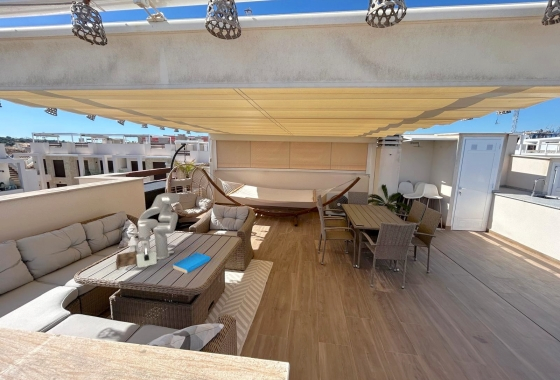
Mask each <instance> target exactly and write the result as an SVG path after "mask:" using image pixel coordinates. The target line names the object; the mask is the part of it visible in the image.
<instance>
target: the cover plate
mask: <svg viewBox="0 0 560 380" xmlns="http://www.w3.org/2000/svg"><path fill="white" fill-rule="evenodd" d="M142 253H143V252H142ZM147 254H148V255H149V260H148V261H144V253H143V254H137V255H136V256H137V266H136V267H137V268H143V267H148V266H151V265H155V264H156V265H157V259H156V250H155V251H150V252H148V253H147Z"/></svg>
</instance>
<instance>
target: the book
mask: <svg viewBox="0 0 560 380" xmlns="http://www.w3.org/2000/svg"><path fill="white" fill-rule="evenodd" d="M209 261H211V256H209V255H206V254H203V253H200V252H196V251H195V252H194V253H192V254H191V255H188V256H187V257H185V258H182V259H181V260H178V261H177V262H174V263H173V264H172V268H173V269H174V270H177V271H178V272H182V273H184V274H188V273H191V272H192V271H194V270H196V269H198V268H199V267H201V266H202V265H205V264H206V263H208V262H209ZM204 263H205V264H204Z"/></svg>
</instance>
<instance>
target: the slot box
mask: <svg viewBox="0 0 560 380" xmlns="http://www.w3.org/2000/svg"><path fill="white" fill-rule="evenodd" d="M136 255H137V251H133V252H129V251H128V252H124V253H119V254H117V255H116V259H115V266H116V271H119V270H120V268H124V267H128V266H133V265H135V267H137V256H136Z"/></svg>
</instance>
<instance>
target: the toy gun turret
mask: <svg viewBox="0 0 560 380" xmlns="http://www.w3.org/2000/svg"><path fill="white" fill-rule="evenodd" d="M136 235H137V234H134V235H132V236H131V238H130V240H128V238H127V239H125V242H126V243H127V246H128V247H129V251H128V252H133V251H137V254H143V251H142V250H141V249H140V248H139V242H140V241H139V237H136Z"/></svg>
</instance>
